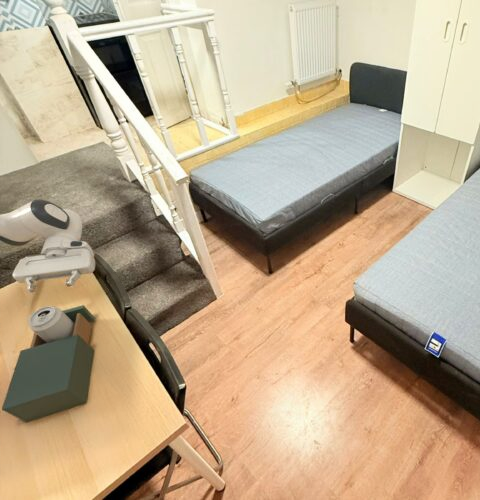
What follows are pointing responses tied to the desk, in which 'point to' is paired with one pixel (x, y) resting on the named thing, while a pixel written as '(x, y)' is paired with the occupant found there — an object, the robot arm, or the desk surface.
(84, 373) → the cabinet
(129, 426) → the desk surface
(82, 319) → the drawer
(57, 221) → the robot arm
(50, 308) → the can
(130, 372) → the desk surface
